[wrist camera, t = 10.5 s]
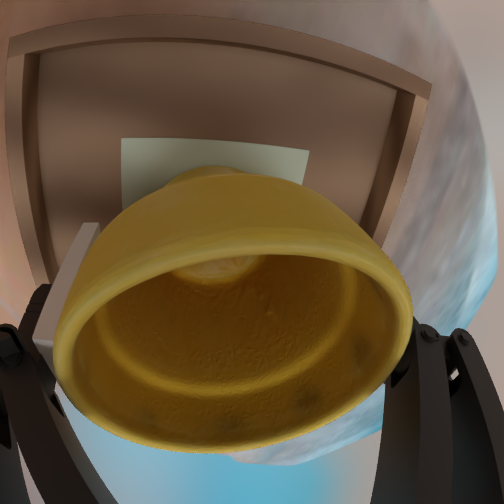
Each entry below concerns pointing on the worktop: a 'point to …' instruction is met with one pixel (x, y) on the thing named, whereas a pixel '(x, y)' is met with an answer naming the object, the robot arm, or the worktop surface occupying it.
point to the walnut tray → (197, 120)
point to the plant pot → (229, 316)
